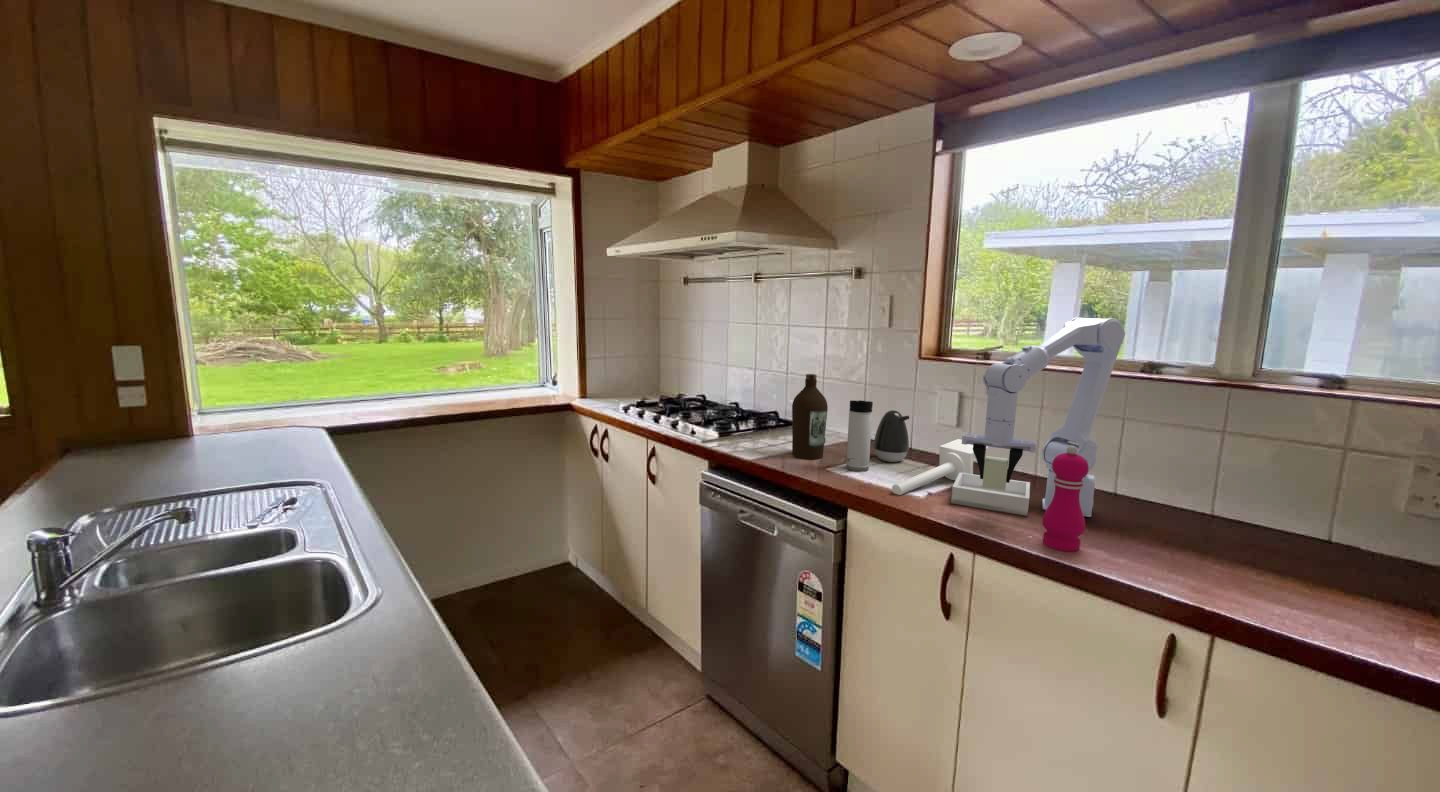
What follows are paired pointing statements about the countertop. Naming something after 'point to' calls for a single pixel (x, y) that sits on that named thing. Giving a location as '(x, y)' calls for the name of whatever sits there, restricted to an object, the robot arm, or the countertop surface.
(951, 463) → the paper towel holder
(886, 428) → the pump dispenser
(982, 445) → the robot arm
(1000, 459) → the sage block
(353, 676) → the countertop surface
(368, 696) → the countertop surface
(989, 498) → the grey bin
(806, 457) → the olive oil
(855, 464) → the travel mug
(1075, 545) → the pepper mill
